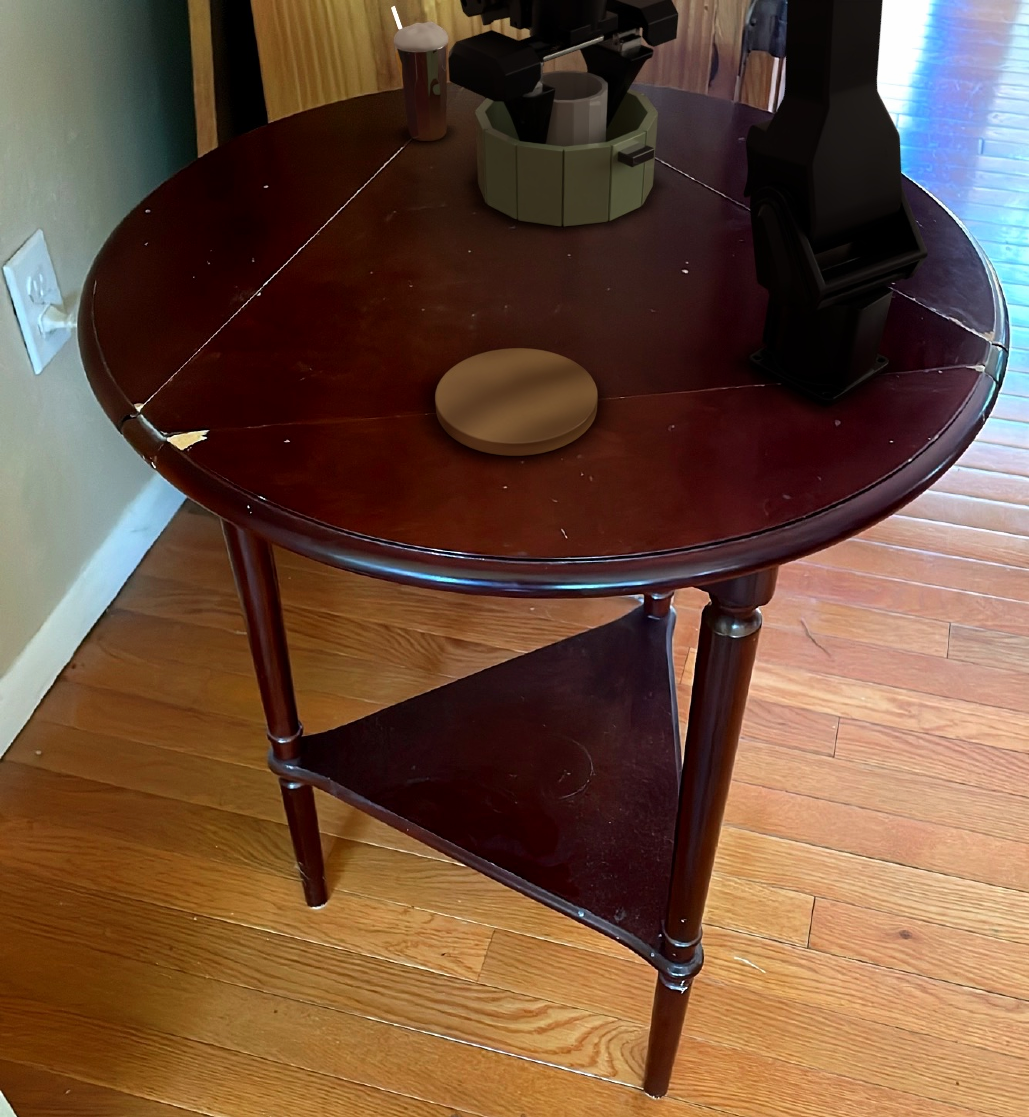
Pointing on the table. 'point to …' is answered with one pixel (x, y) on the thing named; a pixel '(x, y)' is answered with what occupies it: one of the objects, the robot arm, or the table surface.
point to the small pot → (577, 108)
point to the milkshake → (423, 77)
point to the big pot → (567, 167)
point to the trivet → (516, 401)
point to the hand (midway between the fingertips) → (565, 151)
